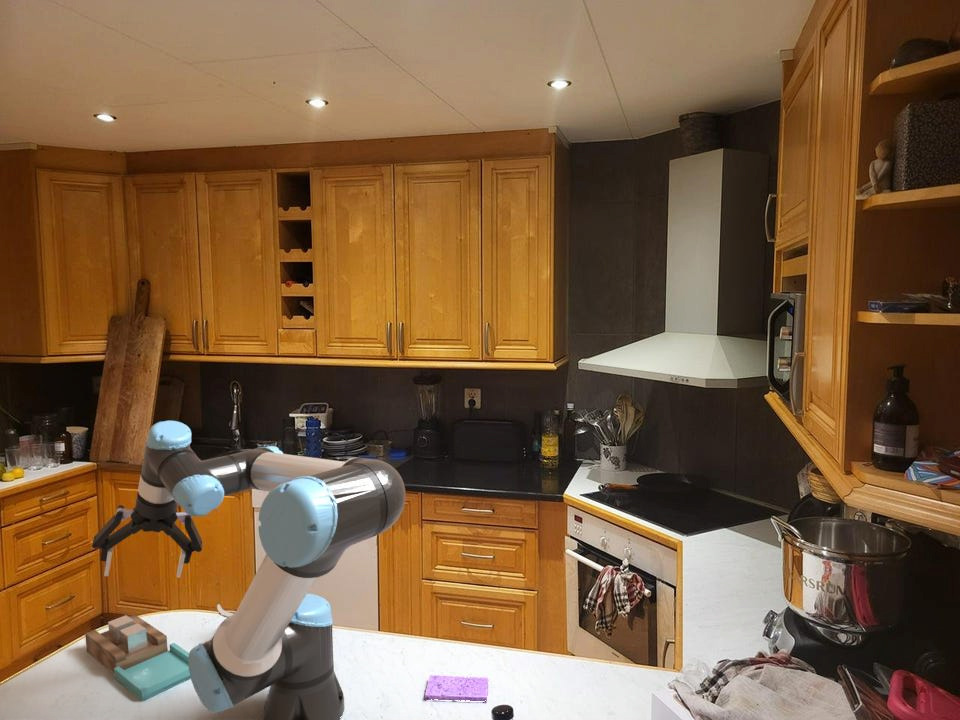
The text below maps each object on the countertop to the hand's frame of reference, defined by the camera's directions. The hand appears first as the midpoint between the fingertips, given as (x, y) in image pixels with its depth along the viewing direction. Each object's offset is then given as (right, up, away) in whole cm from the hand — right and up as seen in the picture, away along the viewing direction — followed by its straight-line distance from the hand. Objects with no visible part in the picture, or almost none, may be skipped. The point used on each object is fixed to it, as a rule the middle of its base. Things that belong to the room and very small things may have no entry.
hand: (143, 572), depth 141 cm
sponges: (+66, -24, -3) cm, 70 cm away
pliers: (+10, -21, +30) cm, 38 cm away
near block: (-7, -20, +10) cm, 23 cm away
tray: (+1, -23, +4) cm, 24 cm away
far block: (-12, -19, +14) cm, 26 cm away
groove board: (-10, -22, +13) cm, 28 cm away
